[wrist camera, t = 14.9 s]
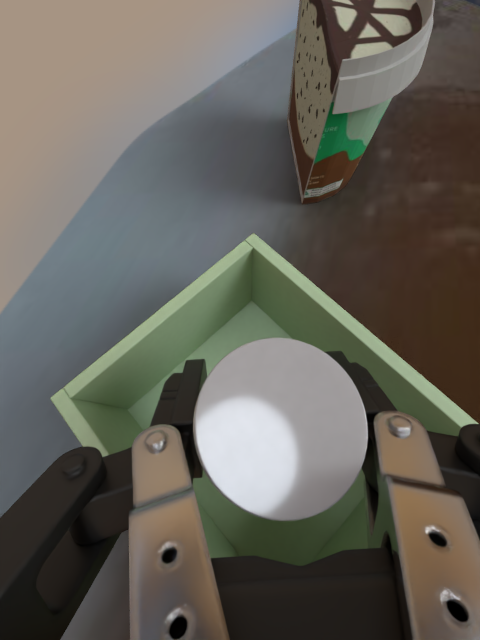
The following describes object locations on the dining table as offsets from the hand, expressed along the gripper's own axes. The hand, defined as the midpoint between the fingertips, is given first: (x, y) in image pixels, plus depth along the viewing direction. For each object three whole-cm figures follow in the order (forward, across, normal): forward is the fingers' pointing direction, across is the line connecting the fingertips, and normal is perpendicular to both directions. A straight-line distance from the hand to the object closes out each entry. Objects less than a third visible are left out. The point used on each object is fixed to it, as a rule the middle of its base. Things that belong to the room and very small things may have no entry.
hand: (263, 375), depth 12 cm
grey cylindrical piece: (+2, 0, +4) cm, 5 cm away
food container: (+18, -8, -9) cm, 21 cm away
